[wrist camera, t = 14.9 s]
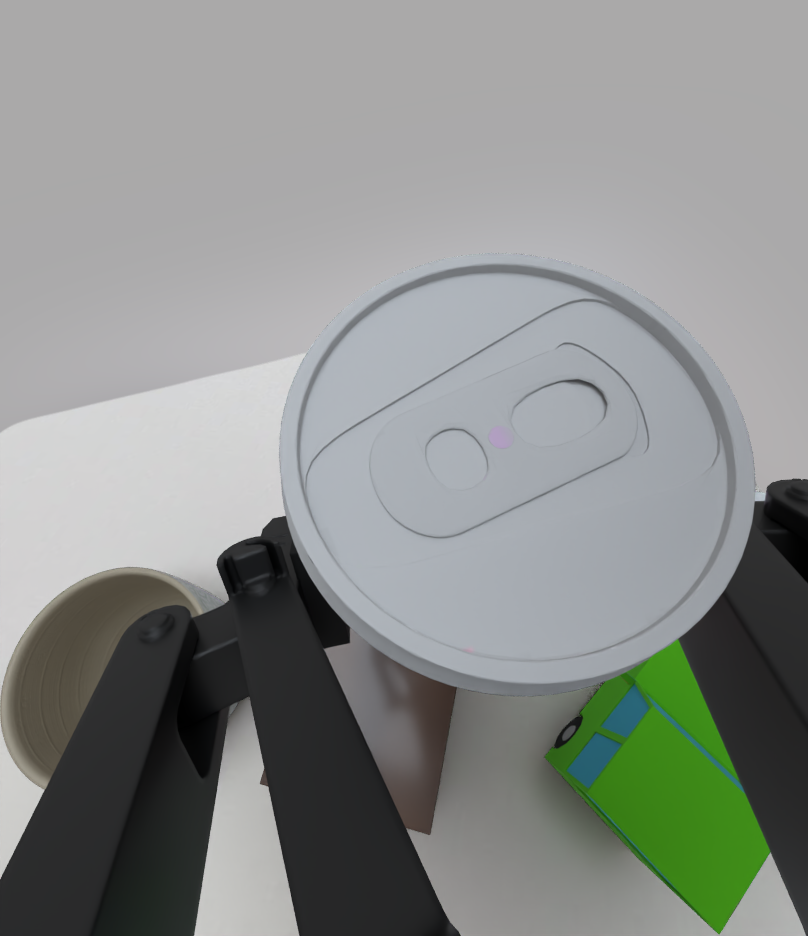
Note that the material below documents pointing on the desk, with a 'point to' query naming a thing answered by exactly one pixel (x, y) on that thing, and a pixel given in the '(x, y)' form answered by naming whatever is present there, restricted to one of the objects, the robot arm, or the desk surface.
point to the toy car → (666, 783)
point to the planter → (78, 658)
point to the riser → (397, 724)
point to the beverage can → (514, 474)
